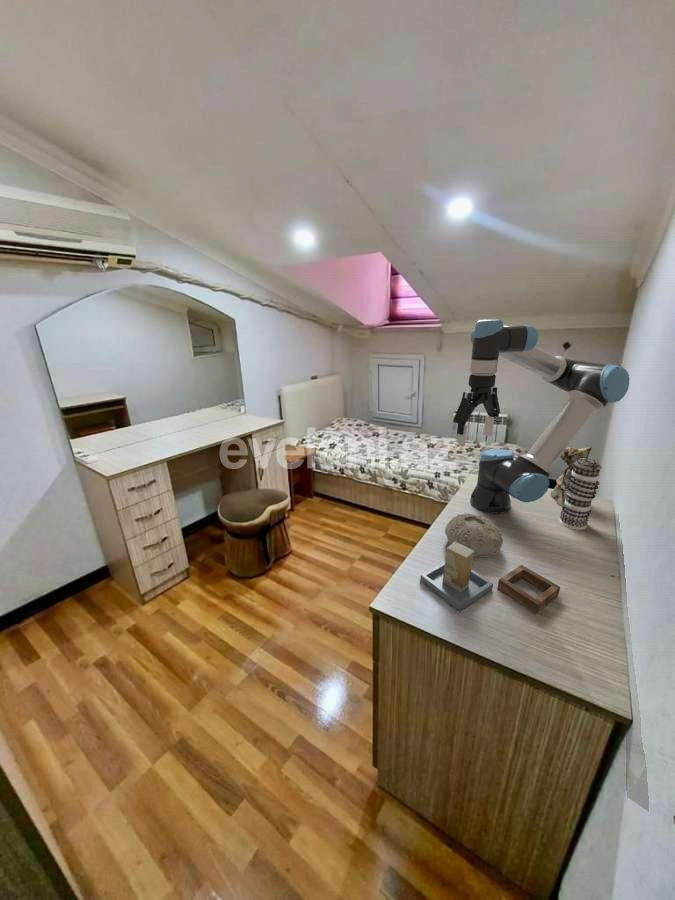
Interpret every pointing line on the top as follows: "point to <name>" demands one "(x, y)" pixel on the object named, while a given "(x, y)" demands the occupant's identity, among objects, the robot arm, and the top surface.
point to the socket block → (524, 598)
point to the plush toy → (567, 472)
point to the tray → (453, 597)
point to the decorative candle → (580, 493)
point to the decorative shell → (474, 534)
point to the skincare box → (458, 566)
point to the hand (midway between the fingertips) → (474, 439)
